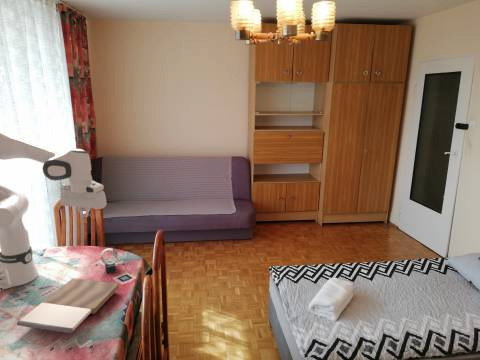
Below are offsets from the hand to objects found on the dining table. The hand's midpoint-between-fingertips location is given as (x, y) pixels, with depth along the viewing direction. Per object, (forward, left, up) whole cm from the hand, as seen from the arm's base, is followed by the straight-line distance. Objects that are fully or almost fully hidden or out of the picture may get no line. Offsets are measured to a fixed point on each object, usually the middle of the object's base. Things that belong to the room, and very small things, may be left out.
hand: (84, 216), depth 149 cm
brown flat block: (+7, -16, -31) cm, 36 cm away
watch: (+4, +10, -31) cm, 33 cm away
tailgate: (+7, -26, -27) cm, 38 cm away
